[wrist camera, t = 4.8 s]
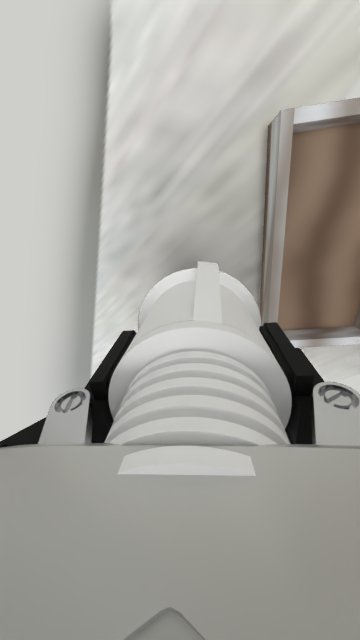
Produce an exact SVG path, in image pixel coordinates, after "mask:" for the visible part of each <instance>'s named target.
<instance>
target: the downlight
mask: <svg viewBox="0 0 360 640" xmlns="http://www.w3.org/2000/svg"><path fill="white" fill-rule="evenodd" d="M260 326H261V316H260V311H259V308H258V305H257V303H256V301H255V299H254V297H253V296H252V294H251V293H250V292H249V290H248V289H247V288H246V287H245V286H244V285H243V284H242V283H241V282H240V281H238V280H237V279H236V278H234V277H232V276H231V275H229V274H226V273H224V272H221V271H219V266H218V265H217V263H213V262H202V261H198V267H197V268H189V269H184V270H180V271H177V272H175V273H172V274H170V275H168V276H166V277H165V278H163V279H162V280H160V281H159V282H158V283H157V284H156V285H155V286H154V287H153V288H152V289H151V290H150V291H149V293H148V294H147V296H146V297H145V299H144V301H143V303H142V305H141V308H140V311H139V316H138V332H137V334H136V335H135V337H134V339H133V340H132V342H131V344H130V345H129V347H128V349H127V350H126V352H125V354H124V355H123V357H122V359H121V360H120V362H119V364H118V365H117V367H116V369H115V371H114V373H113V375H112V378H111V381H110V385H109V392H108V400H109V407H110V411H111V414H112V417H113V420H114V422H113V424H112V426H111V429H110V432H109V433H108V435H107V438H106V440H105V442H104V443H112V444H120V445H268V444H290V442H289V439H288V437H287V434H286V432H285V428H286V426H287V424H288V421H289V418H290V414H291V408H292V397H291V390H290V386H289V383H288V381H287V378H286V376H285V374H284V372H283V370H282V369H281V367H280V365H279V364H278V362H277V361H276V359H275V357H274V355H273V354H272V352H271V350H270V348H269V347H268V345H267V343H266V342H265V340H264V338H263V336H262V335H261V333H260V331H259V327H260ZM118 474H157V475H225V476H256V474H255V471H254V467H253V464H252V460H251V457H250V456H247V455H244V454H241V453H237V452H233V451H228V450H224V449H218V448H212V447H202V446H166V447H158V448H151V449H147V450H142V451H138V452H135V453H131V454H128V455H126V456H124V458H123V461H122V463H121V466H120V469H119V471H118Z"/></svg>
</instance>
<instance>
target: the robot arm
mask: <svg viewBox="0 0 360 640" xmlns="http://www.w3.org/2000/svg"><path fill="white" fill-rule="evenodd" d="M259 331H260V333H261V335H262V336H263V338H264V340H265V342H266V343H267V345H268V347H269V348H270V350H271V352H272V354H273V355H274V357H275V359H276V361H277V362H278V364H279V365H280V367H281V369H282V370H283V372H284V374H285V376H286V378H287V381H288V383H289V386H290V390H291V397H292V408H291V414H290V418H289V421H288V424H287V426H286V428H285V432H286V434H287V437H288V439H289V442H290V444H268V445H120V444H112V443H104V442H105V440H106V438H107V435H108V433H109V432H110V429H111V426H112V424H113V422H114V420H113V417H112V414H111V411H110V407H109V400H108V392H109V385H110V381H111V378H112V375H113V373H114V371H115V369H116V367H117V365H118V364H119V362H120V360H121V359H122V357H123V355H124V354H125V352H126V350H127V349H128V347H129V345H130V344H131V342H132V340H133V339H134V337H135V335H136V334H137V333H135V331H134V330H133V331H123V332H122V333H121V335H120V336H119V338H118V339H117V341H116V342H115V344H114V345H113V347H112V348H111V350H110V351H109V352H108V354H107V355H106V357H105V358H104V360H103V361H102V363H101V364H100V366H99V367H98V369H97V370H96V372H95V373H94V375H93V376H92V378H91V379H90V381H89V382H88V384H87V385H86V387H85V388H84V389H83V388H77V389H72V390H70V391H67V392H65V393H63V394H61V395H60V396H59V397H57V398H56V399H55V400H54V401H53V402H52V404H51V406H50V409H49V412H48V415H47V417H46V418H44V419H42V420H40V421H38V422H36V423H34V424H33V425H31V426H29V427H27V428H25V429H23V430H21V431H19V432H18V433H16V434H14V435H12V436H10V437H8V438H7V439H5V440H2V441H1V442H0V640H360V394H359V393H358V392H357V391H355V390H354V389H352V388H350V387H348V386H346V385H343V384H340V383H336V382H324V380H323V379H322V378H321V376H320V375H319V374H318V372H317V371H316V370H315V368H314V367H313V365H312V364H311V363H310V361H309V360H308V359H307V357H306V356H305V355H304V353H303V352H302V351H301V349H300V348H295V347H294V346H293V345H292V343H291V342H290V340H289V339H288V338H287V336H286V335H285V333H284V332H283V330H282V329H281V328H280V326H279V325H278V323H277V322H272V323H264V324H263V326H260V327H259ZM166 446H202V447H212V448H218V449H224V450H228V451H233V452H237V453H241V454H244V455H247V456H250V457H251V460H252V464H253V467H254V471H255V474H256V476H225V475H157V474H118V471H119V469H120V466H121V463H122V461H123V458H124V456H126V455H128V454H131V453H135V452H138V451H142V450H147V449H151V448H158V447H166Z"/></svg>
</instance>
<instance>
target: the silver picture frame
mask: <svg viewBox="0 0 360 640" xmlns="http://www.w3.org/2000/svg"><path fill="white" fill-rule="evenodd" d="M260 316H261V326H263V324H264V323H272V322H277V323H278V325H279V326H280V328H281V329H282V330H283V332H284V333H285V335H286V336H287V338H288V339H289V340H290V342H291V343H292V345H293V346H294V347H295V348H299V347H318V346H336V345H354V344H360V98H355V99H347V100H341V101H335V102H329V103H322V104H316V105H310V106H304V107H297V108H291V109H285V110H281V111H280V112H279V114H278V115H277V116H276V117H275V119H274V120H273V121H272V122H271V124H270V125H269V126H268V147H267V170H266V192H265V215H264V238H263V260H262V283H261V305H260Z"/></svg>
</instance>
